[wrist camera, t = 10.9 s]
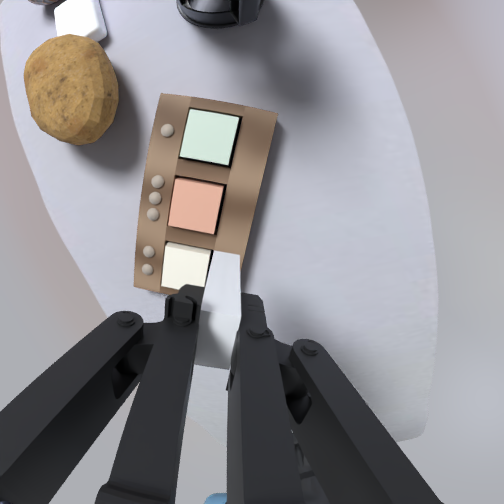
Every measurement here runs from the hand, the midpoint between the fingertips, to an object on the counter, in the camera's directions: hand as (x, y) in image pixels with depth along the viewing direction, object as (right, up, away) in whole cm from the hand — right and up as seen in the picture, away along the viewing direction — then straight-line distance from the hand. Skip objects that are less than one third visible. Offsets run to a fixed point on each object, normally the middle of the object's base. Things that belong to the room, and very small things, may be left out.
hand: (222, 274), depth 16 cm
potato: (-16, +19, +7) cm, 25 cm away
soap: (-18, +29, +3) cm, 34 cm away
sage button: (-2, +12, +9) cm, 16 cm away
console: (-4, +7, +12) cm, 14 cm away
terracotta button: (-4, +6, +11) cm, 13 cm away
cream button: (-5, +1, +13) cm, 14 cm away
